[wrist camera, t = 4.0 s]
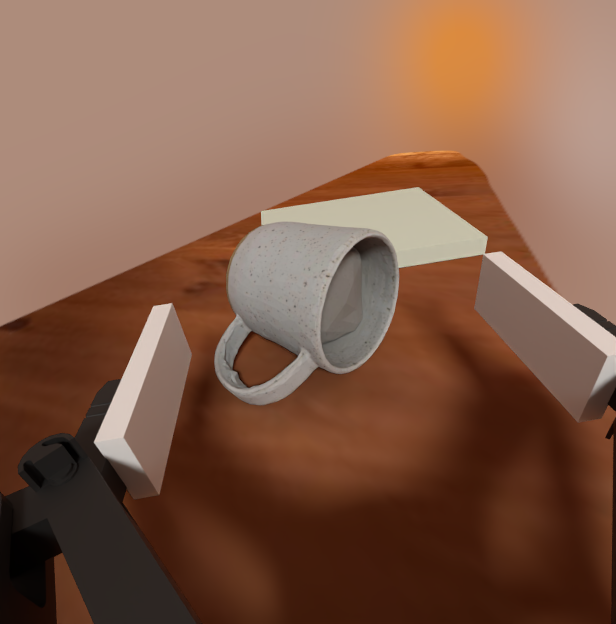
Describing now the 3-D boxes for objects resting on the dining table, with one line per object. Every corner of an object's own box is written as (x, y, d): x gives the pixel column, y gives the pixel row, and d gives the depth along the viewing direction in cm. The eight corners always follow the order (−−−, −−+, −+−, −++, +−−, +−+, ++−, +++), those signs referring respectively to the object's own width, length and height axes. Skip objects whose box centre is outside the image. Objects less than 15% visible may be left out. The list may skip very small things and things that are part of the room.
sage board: (267, 289, 30) (263, 272, 29) (263, 224, 42) (261, 211, 41) (484, 254, 30) (487, 236, 29) (417, 200, 43) (418, 187, 42)
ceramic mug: (304, 293, 28) (289, 194, 24) (401, 326, 24) (403, 210, 19) (191, 377, 22) (143, 264, 18) (292, 445, 17) (259, 313, 13)
